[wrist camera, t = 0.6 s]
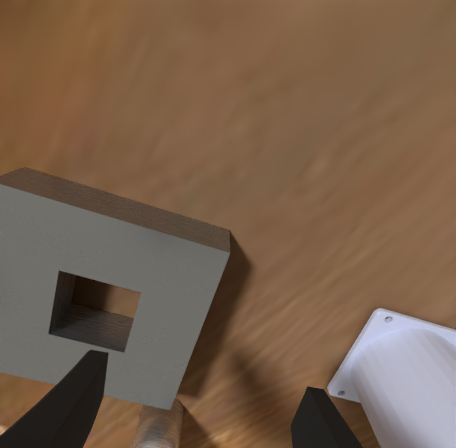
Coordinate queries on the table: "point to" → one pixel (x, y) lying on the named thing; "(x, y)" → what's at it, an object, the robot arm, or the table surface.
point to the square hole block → (108, 273)
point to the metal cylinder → (159, 427)
